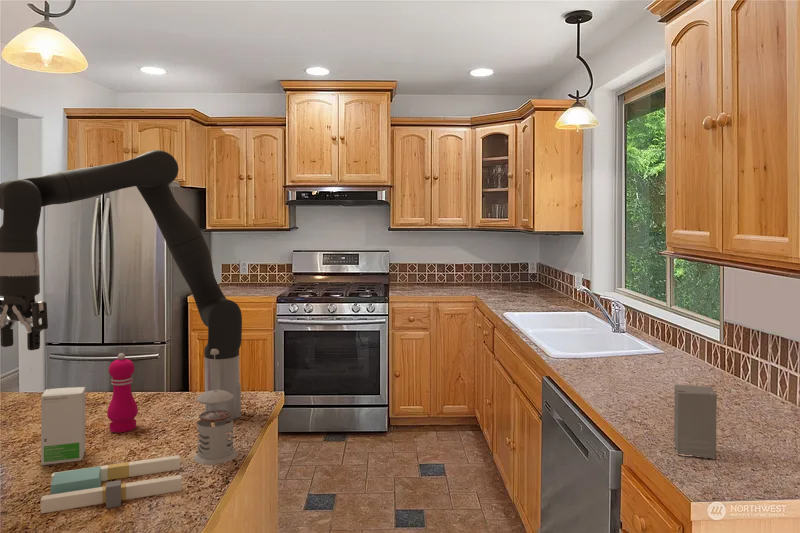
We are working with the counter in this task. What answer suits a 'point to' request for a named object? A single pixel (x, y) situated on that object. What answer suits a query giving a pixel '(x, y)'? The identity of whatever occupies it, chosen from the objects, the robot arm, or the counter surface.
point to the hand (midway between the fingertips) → (20, 348)
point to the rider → (76, 480)
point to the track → (119, 485)
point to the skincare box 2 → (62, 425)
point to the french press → (215, 428)
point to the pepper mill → (122, 396)
